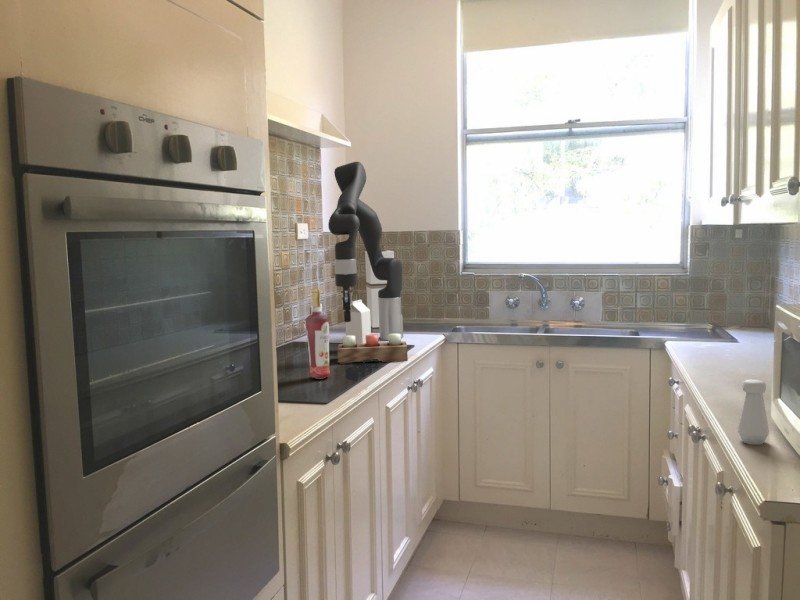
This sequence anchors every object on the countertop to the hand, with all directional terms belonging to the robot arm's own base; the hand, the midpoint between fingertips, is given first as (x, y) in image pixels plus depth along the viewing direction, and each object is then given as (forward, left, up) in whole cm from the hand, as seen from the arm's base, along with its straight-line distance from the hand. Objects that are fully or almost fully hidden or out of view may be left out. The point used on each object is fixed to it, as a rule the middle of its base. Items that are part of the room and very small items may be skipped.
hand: (347, 321), depth 239 cm
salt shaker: (+28, +132, -14) cm, 135 cm away
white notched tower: (-60, -30, -14) cm, 69 cm away
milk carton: (-16, -8, -14) cm, 23 cm away
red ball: (-5, +7, -9) cm, 12 cm away
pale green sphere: (0, 0, -9) cm, 9 cm away
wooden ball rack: (-5, +7, -14) cm, 16 cm away
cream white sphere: (-10, +13, -9) cm, 18 cm away
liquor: (+26, +10, -14) cm, 31 cm away
